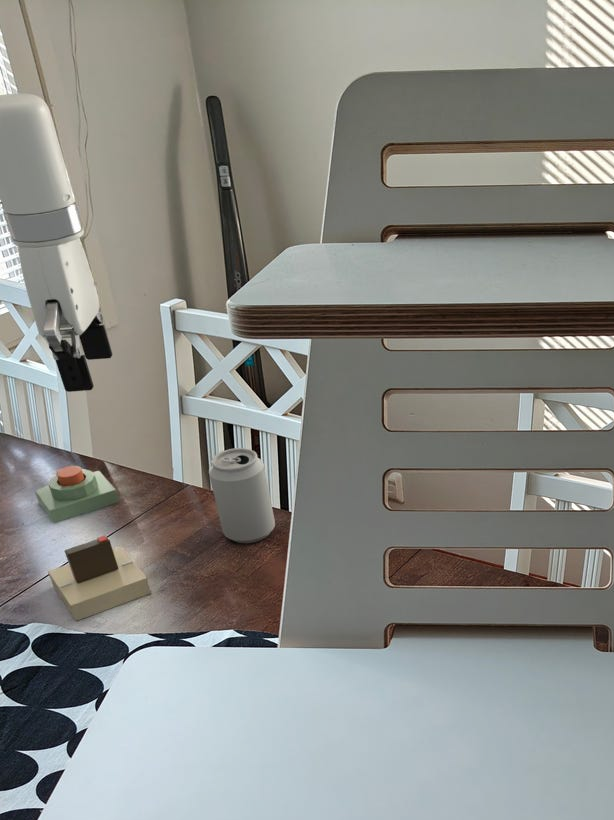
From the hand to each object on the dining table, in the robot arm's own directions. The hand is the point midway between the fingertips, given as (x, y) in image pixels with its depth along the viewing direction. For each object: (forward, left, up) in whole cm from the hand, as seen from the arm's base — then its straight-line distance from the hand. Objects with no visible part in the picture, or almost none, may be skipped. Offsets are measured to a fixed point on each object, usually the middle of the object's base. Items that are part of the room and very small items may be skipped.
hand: (90, 373), depth 117 cm
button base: (-2, +25, -28) cm, 37 cm away
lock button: (-2, +25, -24) cm, 35 cm away
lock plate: (-7, -1, -28) cm, 29 cm away
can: (+15, 0, -28) cm, 32 cm away
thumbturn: (-7, -1, -25) cm, 26 cm away
